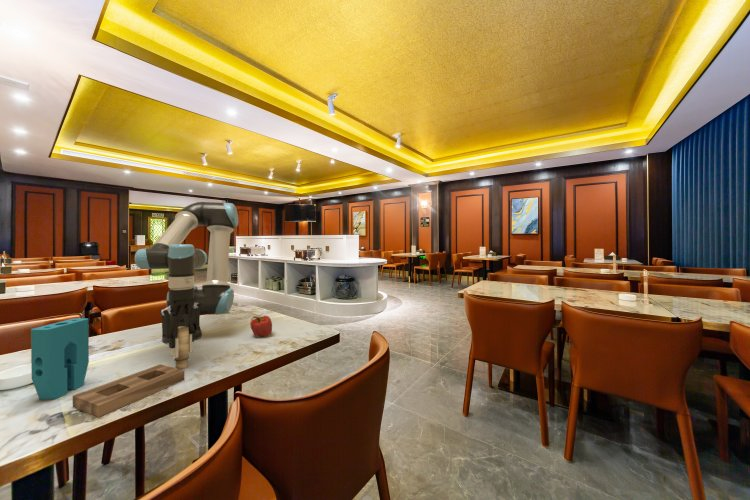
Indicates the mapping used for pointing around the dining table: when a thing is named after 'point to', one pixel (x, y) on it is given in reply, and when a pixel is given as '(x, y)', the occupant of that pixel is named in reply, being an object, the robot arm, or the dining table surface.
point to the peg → (183, 347)
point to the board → (126, 390)
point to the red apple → (261, 326)
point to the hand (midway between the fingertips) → (181, 354)
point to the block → (59, 357)
